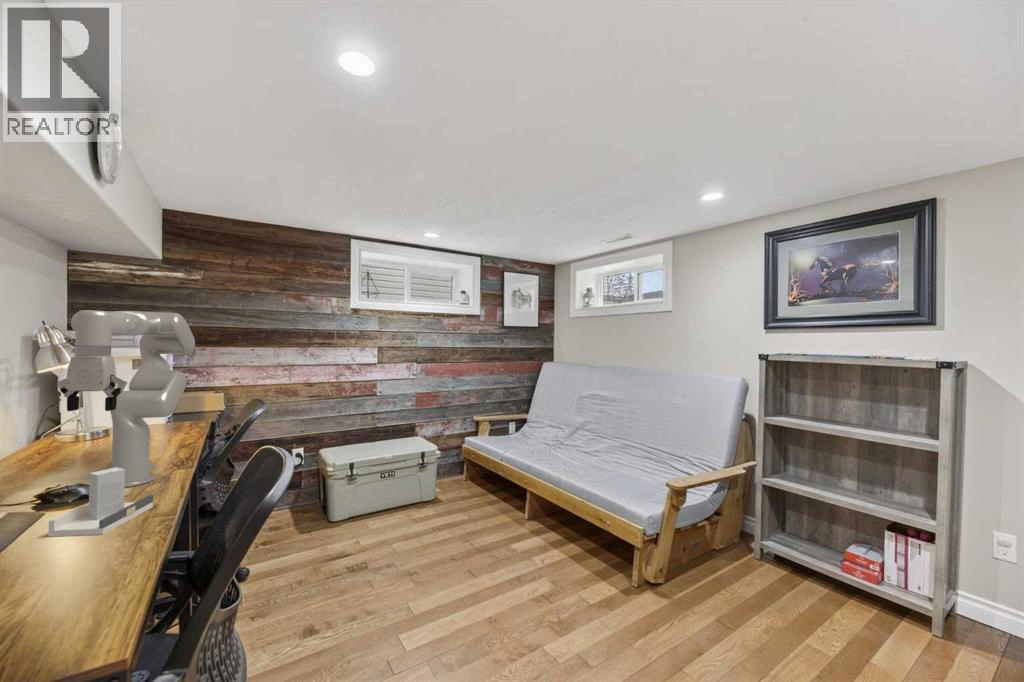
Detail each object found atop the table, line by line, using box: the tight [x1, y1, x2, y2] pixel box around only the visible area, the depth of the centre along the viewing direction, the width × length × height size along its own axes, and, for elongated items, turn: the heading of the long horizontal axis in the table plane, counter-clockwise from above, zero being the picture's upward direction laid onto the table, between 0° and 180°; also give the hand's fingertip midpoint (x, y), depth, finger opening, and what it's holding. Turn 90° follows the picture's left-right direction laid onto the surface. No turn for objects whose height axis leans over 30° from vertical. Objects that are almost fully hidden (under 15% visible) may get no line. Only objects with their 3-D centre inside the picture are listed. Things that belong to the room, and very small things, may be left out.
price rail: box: [99, 494, 154, 529], centre depth 114 cm, size 18×1×2 cm, turn 9°
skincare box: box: [88, 467, 125, 520], centre depth 114 cm, size 6×4×12 cm
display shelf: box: [47, 501, 154, 538], centre depth 114 cm, size 18×12×4 cm, turn 9°
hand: (91, 410), depth 123 cm, fingers open, 9 cm apart
